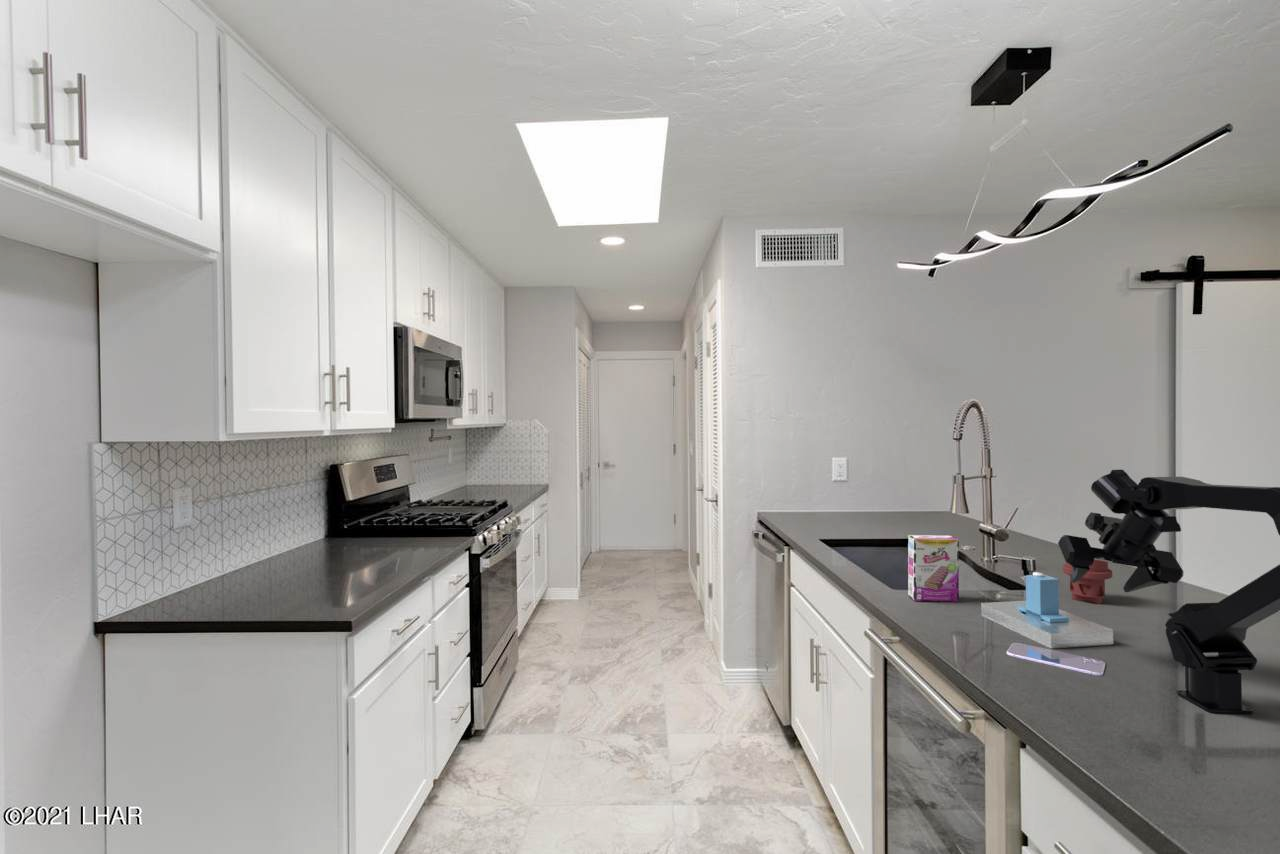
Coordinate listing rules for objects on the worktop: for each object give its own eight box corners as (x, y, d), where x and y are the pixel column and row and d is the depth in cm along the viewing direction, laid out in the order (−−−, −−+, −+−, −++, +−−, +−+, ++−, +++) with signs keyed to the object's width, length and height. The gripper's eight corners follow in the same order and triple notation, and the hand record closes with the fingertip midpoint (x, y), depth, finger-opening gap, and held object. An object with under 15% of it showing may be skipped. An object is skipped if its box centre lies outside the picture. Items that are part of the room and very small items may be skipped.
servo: (1069, 635, 122) (1068, 579, 122) (1050, 637, 122) (1049, 580, 122) (1035, 621, 131) (1034, 568, 131) (1017, 622, 131) (1017, 569, 130)
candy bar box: (914, 602, 146) (913, 538, 146) (907, 596, 151) (906, 534, 151) (960, 602, 145) (959, 538, 145) (951, 596, 150) (951, 534, 150)
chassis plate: (1113, 644, 117) (1113, 629, 117) (1051, 648, 116) (1050, 633, 116) (1035, 612, 137) (1035, 600, 137) (981, 615, 135) (981, 603, 135)
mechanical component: (1121, 607, 139) (1072, 604, 142) (1101, 595, 149) (1056, 592, 152) (1120, 557, 139) (1072, 555, 142) (1100, 548, 149) (1055, 546, 152)
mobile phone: (1013, 640, 119) (1105, 659, 108) (1013, 645, 119) (1105, 665, 108) (1005, 651, 113) (1102, 673, 103) (1005, 656, 113) (1102, 678, 103)
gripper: (1176, 510, 110) (1135, 564, 119) (1066, 494, 114) (1035, 547, 123) (1205, 553, 101) (1159, 608, 110) (1085, 534, 105) (1051, 588, 115)
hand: (1098, 585), depth 115 cm, fingers open, 9 cm apart
